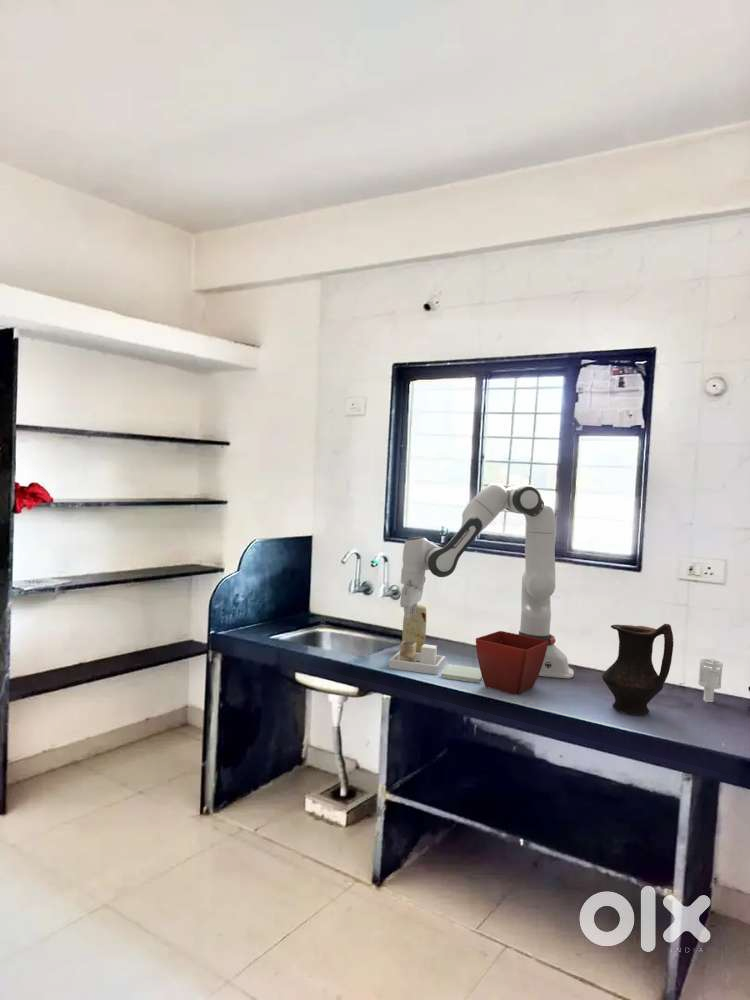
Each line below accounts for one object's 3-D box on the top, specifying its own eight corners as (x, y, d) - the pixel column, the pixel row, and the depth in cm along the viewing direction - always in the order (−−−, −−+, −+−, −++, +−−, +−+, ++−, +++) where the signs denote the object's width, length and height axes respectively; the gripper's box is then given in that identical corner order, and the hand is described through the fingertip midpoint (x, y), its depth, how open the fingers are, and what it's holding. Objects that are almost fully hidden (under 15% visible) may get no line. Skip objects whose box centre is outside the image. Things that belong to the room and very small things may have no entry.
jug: (588, 708, 221) (595, 615, 220) (615, 697, 234) (622, 610, 233) (653, 728, 206) (661, 628, 205) (678, 715, 219) (685, 622, 218)
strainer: (700, 703, 233) (704, 659, 233) (694, 697, 240) (697, 654, 240) (722, 705, 232) (726, 661, 232) (715, 699, 239) (718, 656, 239)
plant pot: (522, 700, 224) (526, 649, 224) (471, 686, 236) (474, 638, 235) (546, 688, 240) (549, 640, 239) (496, 676, 251) (500, 630, 251)
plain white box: (435, 666, 259) (437, 645, 258) (433, 670, 254) (434, 648, 254) (422, 665, 260) (424, 644, 260) (419, 668, 255) (421, 646, 255)
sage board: (485, 673, 254) (485, 669, 254) (480, 683, 241) (480, 679, 240) (447, 668, 258) (448, 664, 258) (440, 677, 244) (441, 673, 244)
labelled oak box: (415, 663, 261) (416, 642, 261) (412, 667, 256) (413, 645, 256) (402, 662, 262) (403, 640, 262) (399, 665, 258) (400, 643, 257)
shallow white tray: (445, 664, 263) (445, 656, 263) (436, 674, 248) (437, 666, 248) (399, 657, 268) (400, 650, 268) (388, 667, 253) (389, 659, 253)
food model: (398, 652, 276) (401, 603, 275) (404, 649, 282) (407, 601, 282) (421, 656, 272) (424, 606, 271) (427, 653, 278) (430, 604, 278)
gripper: (414, 583, 247) (411, 621, 248) (426, 577, 267) (423, 612, 267) (397, 581, 249) (394, 619, 250) (410, 575, 269) (408, 610, 269)
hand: (409, 615), depth 259 cm, fingers open, 8 cm apart
